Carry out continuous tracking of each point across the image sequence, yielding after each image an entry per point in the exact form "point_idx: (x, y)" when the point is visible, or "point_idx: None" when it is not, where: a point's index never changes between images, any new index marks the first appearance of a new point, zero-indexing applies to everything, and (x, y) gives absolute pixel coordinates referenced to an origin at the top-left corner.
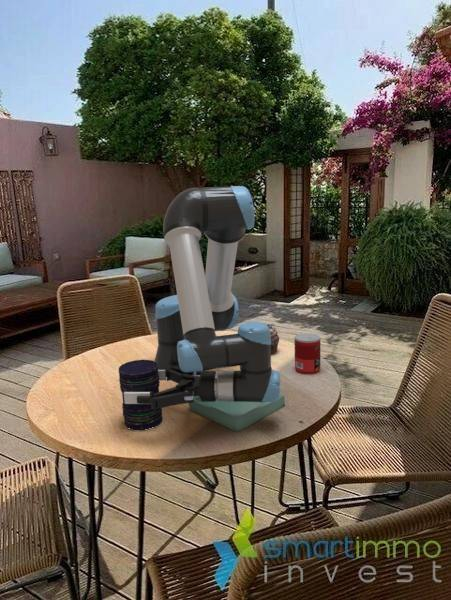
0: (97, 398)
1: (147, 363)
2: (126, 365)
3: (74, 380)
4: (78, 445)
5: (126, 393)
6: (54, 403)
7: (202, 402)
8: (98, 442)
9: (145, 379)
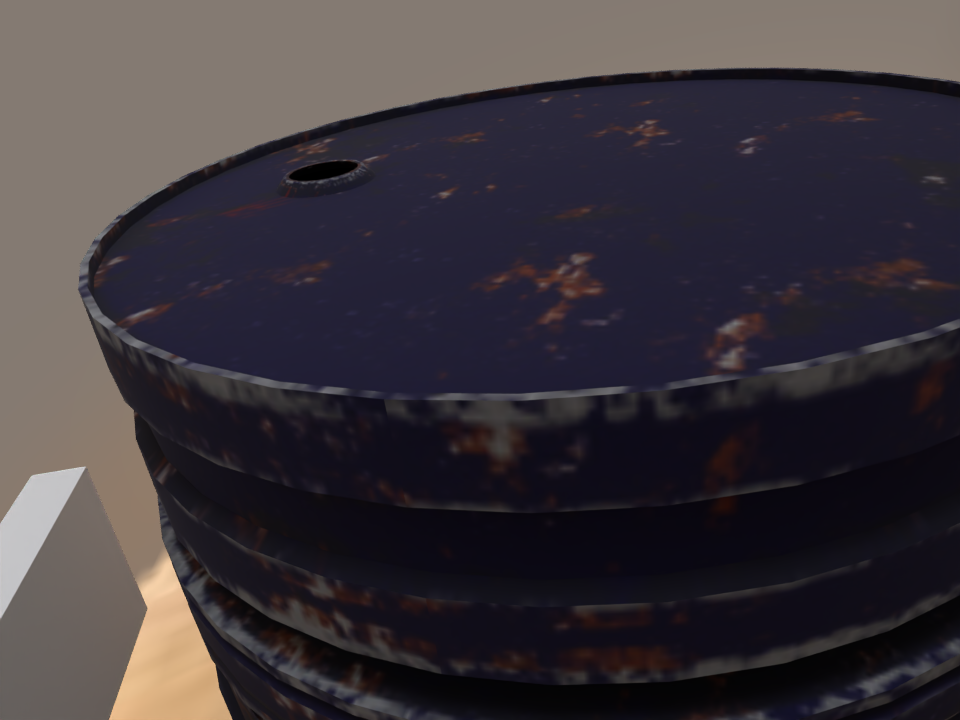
0: None
1: (888, 176)
2: (598, 100)
3: None
4: (156, 590)
5: (18, 507)
6: None
7: None
8: (171, 693)
9: (181, 524)
